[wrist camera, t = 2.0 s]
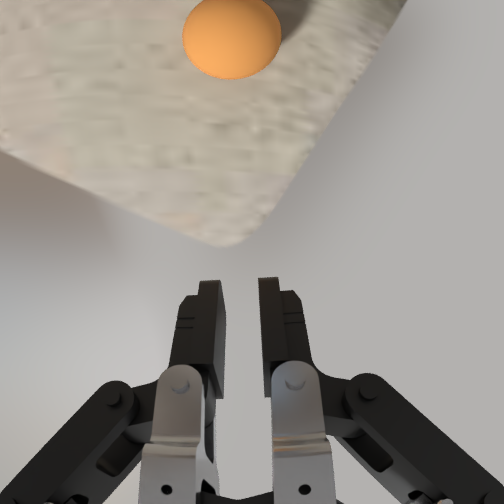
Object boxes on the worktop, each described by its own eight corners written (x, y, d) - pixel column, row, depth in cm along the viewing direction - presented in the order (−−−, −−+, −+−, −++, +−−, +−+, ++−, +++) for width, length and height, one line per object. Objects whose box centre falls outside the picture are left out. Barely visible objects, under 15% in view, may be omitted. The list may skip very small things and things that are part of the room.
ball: (194, 79, 20) (178, 89, 15) (188, 5, 16) (169, -10, 11) (278, 73, 20) (289, 81, 15) (274, -2, 16) (284, -19, 11)
